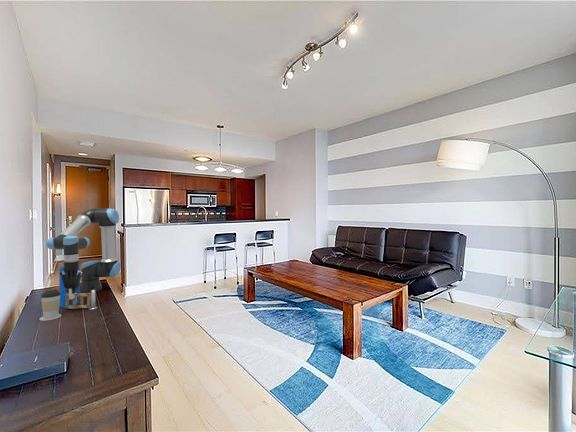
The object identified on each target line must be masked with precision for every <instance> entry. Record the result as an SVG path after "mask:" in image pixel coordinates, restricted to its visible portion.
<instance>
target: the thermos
mask: <svg viewBox="0 0 576 432" xmlns="http://www.w3.org/2000/svg"><path fill="white" fill-rule="evenodd" d="M78 269H79V271H80V272H81V266H79V267H78ZM63 271H64V266H63V267H59V273H58V275H59V278H58V279H59V289H58V292H60V294H61V295H60V306H59V308H65V294H68V289H67V288H65V287H64V285H63V281H62V277H61V275H60V272H63ZM76 278H77V274H76ZM80 284H81V283H80ZM80 284H79V286H78V287H76V292H77V294H78V293H80ZM69 305H73V299H69ZM77 305H80V296H78V297H77Z"/></svg>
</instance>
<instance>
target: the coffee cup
mask: <svg viewBox="0 0 576 432" xmlns="http://www.w3.org/2000/svg"><path fill="white" fill-rule="evenodd" d="M60 295H61V294H60V291H59V289H54V290H47V291H44V292H43V293H42V294H41V296H40V298H41V301H40V303H41V309H42V310H41V311H42V317H43V318H44V319H50V318H55V317H57V316H58V314H60Z"/></svg>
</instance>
